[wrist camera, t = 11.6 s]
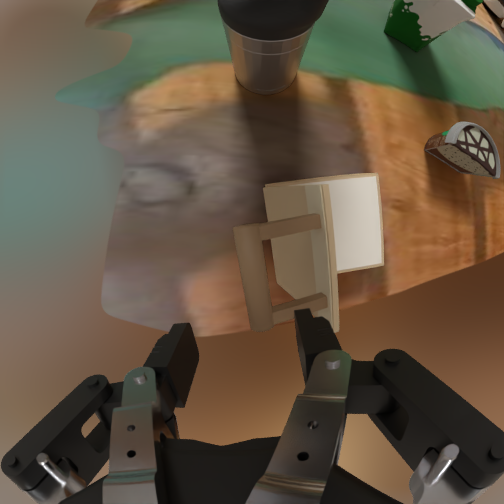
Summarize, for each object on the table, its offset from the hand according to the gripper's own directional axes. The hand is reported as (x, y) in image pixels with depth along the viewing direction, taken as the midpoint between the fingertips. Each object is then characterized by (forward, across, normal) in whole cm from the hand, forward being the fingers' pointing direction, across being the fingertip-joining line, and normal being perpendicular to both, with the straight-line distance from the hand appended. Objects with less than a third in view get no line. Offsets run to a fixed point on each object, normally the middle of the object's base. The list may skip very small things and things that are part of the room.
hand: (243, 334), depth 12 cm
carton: (+29, -10, 0) cm, 31 cm away
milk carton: (+29, -32, -33) cm, 55 cm away
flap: (+14, -4, 0) cm, 15 cm away
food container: (+29, -36, -10) cm, 47 cm away
